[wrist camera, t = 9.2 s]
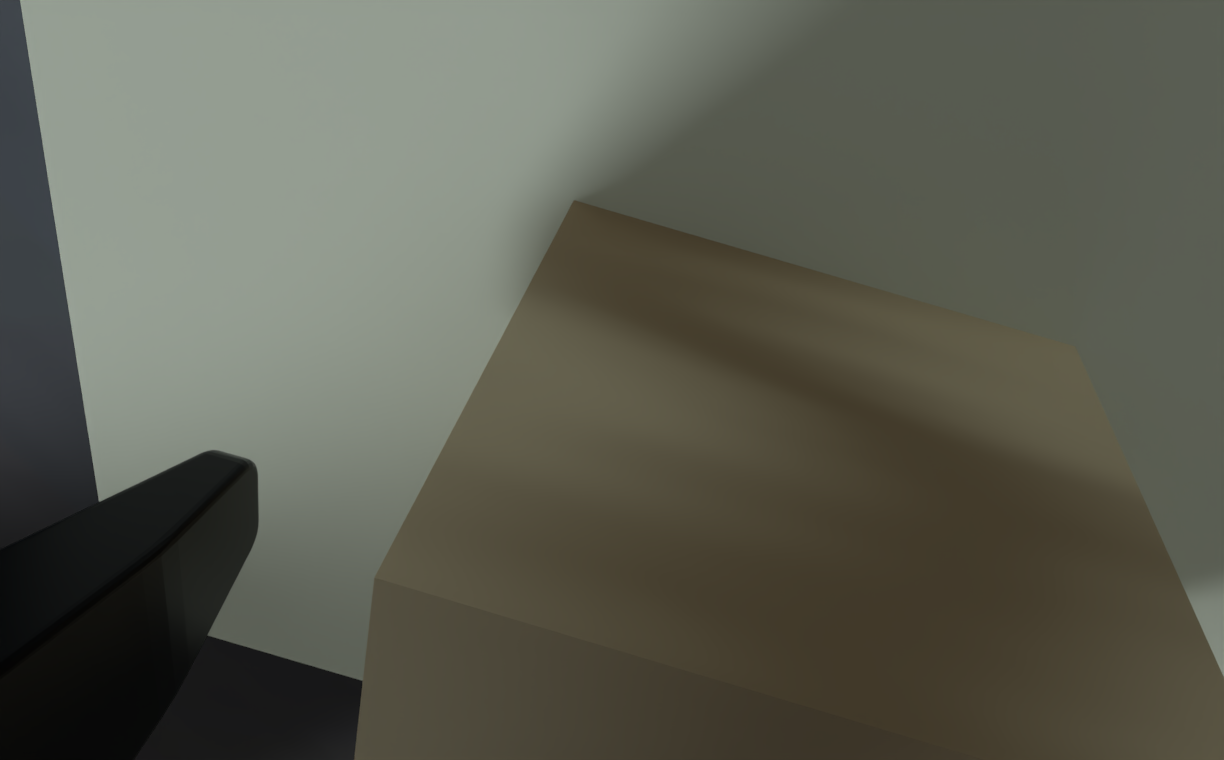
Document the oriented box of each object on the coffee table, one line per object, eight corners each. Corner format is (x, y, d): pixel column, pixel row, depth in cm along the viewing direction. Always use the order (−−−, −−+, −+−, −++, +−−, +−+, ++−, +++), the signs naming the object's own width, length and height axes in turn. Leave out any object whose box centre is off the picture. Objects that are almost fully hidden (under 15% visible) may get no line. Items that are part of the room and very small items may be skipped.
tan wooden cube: (496, 551, 12) (330, 972, 8) (574, 200, 9) (373, 577, 5) (873, 663, 12) (906, 1148, 8) (1075, 346, 9) (1304, 856, 5)
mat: (139, 580, 14) (115, 609, 14) (12, -402, 7) (-45, -413, 7) (1135, 869, 14) (1147, 910, 14) (1973, 126, 7) (2059, 153, 7)
